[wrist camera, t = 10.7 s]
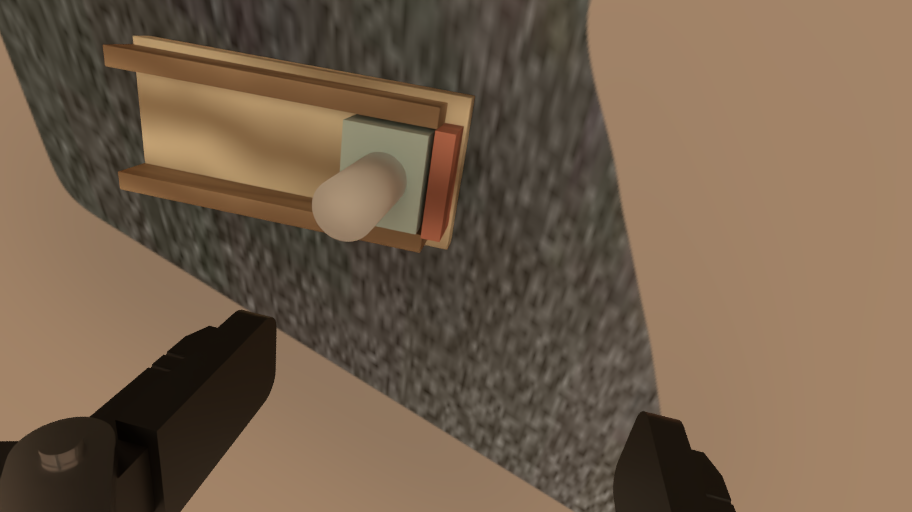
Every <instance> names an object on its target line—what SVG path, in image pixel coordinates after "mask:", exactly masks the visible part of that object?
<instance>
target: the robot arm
mask: <svg viewBox="0 0 912 512" xmlns="http://www.w3.org/2000/svg"><path fill="white" fill-rule="evenodd" d="M275 370H276V321H275V319H274V318H273V317H269V316H265V315H261V314H257V313H253V312H248V311H244V310H238V311H236V312H235V313H234V314H233V315H231V316H230V317H229V318H228V319H227V320H226V321H225V322H224V323H223V324H221V325H220V326H219V327H218V328H216V327H212V326H208V327H206V328H204V329H201V330H199V331H197V332H194V333H192V334H190V335H188V336H185V337H184V338H183V339H182V340H181V341H179V342H178V343H177V344H176V345H175V346H173V347H172V348H171V349H170V350H169V351H167V354H166V355H163V356H161V357H160V358H159V359H158V360H157V361H156V362H154V363H153V364H152V367H151V368H147V369H146V370H145V371H144V372H142V373H141V374H140V375H139V376H138V377H137V378H135V379H134V380H133V381H132V382H131V383H129V384H128V385H127V386H126V387H125V388H123V389H122V390H121V391H120V392H119V393H118V394H116V395H115V396H114V397H113V398H112V399H110V400H109V401H108V402H107V403H106V404H104V405H103V406H102V407H101V408H100V409H98V410H97V411H96V412H95V413H94V414H93V415H91V416H90V417H73V418H67V419H62V420H58V421H55V422H52V423H49V424H47V425H44V426H42V427H40V428H38V429H36V430H34V431H32V432H31V433H29V434H28V435H26V436H25V437H24V438H22V439H21V440H20V441H9V442H8V441H6V442H5V441H2V442H1V441H0V512H181V510H182V509H183V508H184V506H185V505H186V503H187V502H188V501H189V500H190V498H191V497H192V496H193V494H194V493H195V492H196V491H197V489H198V488H199V487H200V486H201V484H202V483H203V482H204V480H205V479H206V478H207V476H208V475H209V474H210V472H211V471H212V470H213V469H214V467H215V466H216V465H217V463H218V462H219V461H220V459H221V458H222V457H223V456H224V454H225V453H226V452H227V450H228V449H229V448H230V446H231V445H232V444H233V443H234V441H235V440H236V439H237V437H238V436H239V435H240V434H241V432H242V431H243V430H244V428H245V427H246V426H247V424H248V423H249V422H250V420H251V419H252V418H253V417H254V415H255V414H256V413H257V411H258V410H259V409H260V407H261V406H262V405H263V403H264V402H265V401H266V399H267V398H268V396H269V394H270V391H271V389H272V386H273V383H274V379H275ZM613 495H614V503H615V511H616V512H736V511H735V509H734V506H733V505H732V504H731V498H730V495H729V493H728V490H727V487H726V485H725V482H724V480H723V477H722V475H721V474H720V473H719V471H718V470H717V469H716V467H715V466H714V465H713V464H712V462H711V461H710V460H709V459H708V457H707V456H706V455H705V454H704V453H703V452H699V451H695V450H691V447H690V444H689V441H688V438H687V435H686V432H685V429H684V426H683V424H682V422H681V421H680V420H677V419H672V418H668V417H665V416H661V415H657V414H653V413H649V412H645V411H642V412H640V414H639V415H638V416H637V418H636V421H635V423H634V425H633V428H632V430H631V432H630V435H629V437H628V439H627V442H626V444H625V446H624V449H623V451H622V454H621V456H620V458H619V461H618V463H617V466H616V470H615V475H614V483H613Z"/></svg>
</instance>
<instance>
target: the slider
mask: <svg viewBox="0 0 912 512" xmlns="http://www.w3.org/2000/svg"><path fill="white" fill-rule="evenodd" d="M436 130H437V129H433V128H427V127H422V126H417V125H412V124H406V123H401V122H396V121H391V120H386V119H380V118H375V117H370V116H365V115H359V114H356V115H353V116H351V117H348V118H346V119H343V128H342V143H341V159H340V172H339V173H337V174H336V175H334V176H333V177H331V178H330V179H328V180H327V181H325V182H324V183H322V184H321V185H320V186H319V187H318V188H317V190H316V191H315V193H314V196H313V199H312V211H313V215H314V218H315V220H316V222H317V224H318V225H319V227H320V228H321V229H322V230H323V231H324V232H325V233H326V234H328V235H329V236H331V237H332V238H334V239H337V240H340V241H347V242H350V241H356V240H359V239H361V238H363V237H365V236H366V235H367V234H368V233H369V232H370V231H371V230H372V229H373V228H374V227H375V226H377V227H382V228H387V229H391V230H396V231H401V232H406V233H410V234H415V235H416V233H417V232H418V230H419V229H420V227H421V226H422V223H423V216H424V209H425V202H426V194H427V187H428V180H429V173H430V166H431V158H432V151H433V144H434V137H435V131H436Z"/></svg>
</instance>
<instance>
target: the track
mask: <svg viewBox="0 0 912 512" xmlns="http://www.w3.org/2000/svg"><path fill="white" fill-rule="evenodd" d="M133 43H134V44H113V45H103V51H104V59H105V66H108V67H114V68H119V69H124V70H129V71H135V72H136V74H137V84H138V94H139V104H140V115H141V125H142V135H143V145H144V156H145V163H144V164H141V165H138V166H134V167H131V168H128V169H125V170H122V171H118V175H119V183H120V189H123V190H127V191H132V192H137V193H141V194H146V195H151V196H155V197H160V198H165V199H170V200H174V201H179V202H184V203H188V204H193V205H198V206H202V207H207V208H212V209H217V210H221V211H226V212H231V213H235V214H240V215H245V216H249V217H254V218H259V219H264V220H268V221H273V222H278V223H282V224H287V225H292V226H296V227H301V228H306V229H310V230H315V231H320V232H324V231H323V230H322V229H321V228H320V227H319V225H318V224H317V222H316V220H315V218H314V215H313V211H312V199H313V196H314V193H315V191H316V190H317V188H318V187H319V186H320V185H321V184H322V183H324V182H325V181H327V180H328V179H330V178H331V177H333V176H334V175H336V174H337V173H339V172H340V159H341V143H342V128H343V119H346V118H348V117H351V116H353V115H356V114H359V115H365V116H370V117H375V118H380V119H386V120H391V121H396V122H401V123H406V124H412V125H417V126H422V127H427V128H433V129H437V130H436V131H435V137H434V144H433V151H432V158H431V166H430V173H429V180H428V187H427V194H426V202H425V209H424V216H423V223H422V226H421V227H420V229H419V230H418V232H417V233H416V235H415V234H410V233H406V232H401V231H396V230H391V229H387V228H382V227H377V226H375V227H374V228H373V229H372V230H371V231H370V232H369V233H368V234H367V235H366V236H365V237H363V238H361V239H359V240H362V241H367V242H372V243H376V244H381V245H386V246H390V247H395V248H400V249H404V250H409V251H414V252H419V253H420V252H421V250H422V248H423V247H424V245H428V246H433V247H437V248H442V249H448V247H449V245H450V243H451V238H452V232H453V226H454V220H455V214H456V208H457V202H458V196H459V190H460V184H461V178H462V172H463V166H464V160H465V154H466V148H467V142H468V136H469V130H470V124H471V118H472V112H473V105H474V99H475V96H473V95H468V94H462V93H457V92H452V91H446V90H441V89H435V88H430V87H424V86H419V85H414V84H408V83H403V82H397V81H392V80H387V79H381V78H376V77H370V76H365V75H359V74H354V73H349V72H343V71H338V70H332V69H327V68H321V67H316V66H311V65H305V64H300V63H294V62H289V61H283V60H278V59H273V58H267V57H262V56H256V55H251V54H245V53H240V52H235V51H229V50H224V49H218V48H213V47H208V46H202V45H197V44H191V43H186V42H180V41H175V40H170V39H164V38H159V37H153V36H133Z"/></svg>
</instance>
